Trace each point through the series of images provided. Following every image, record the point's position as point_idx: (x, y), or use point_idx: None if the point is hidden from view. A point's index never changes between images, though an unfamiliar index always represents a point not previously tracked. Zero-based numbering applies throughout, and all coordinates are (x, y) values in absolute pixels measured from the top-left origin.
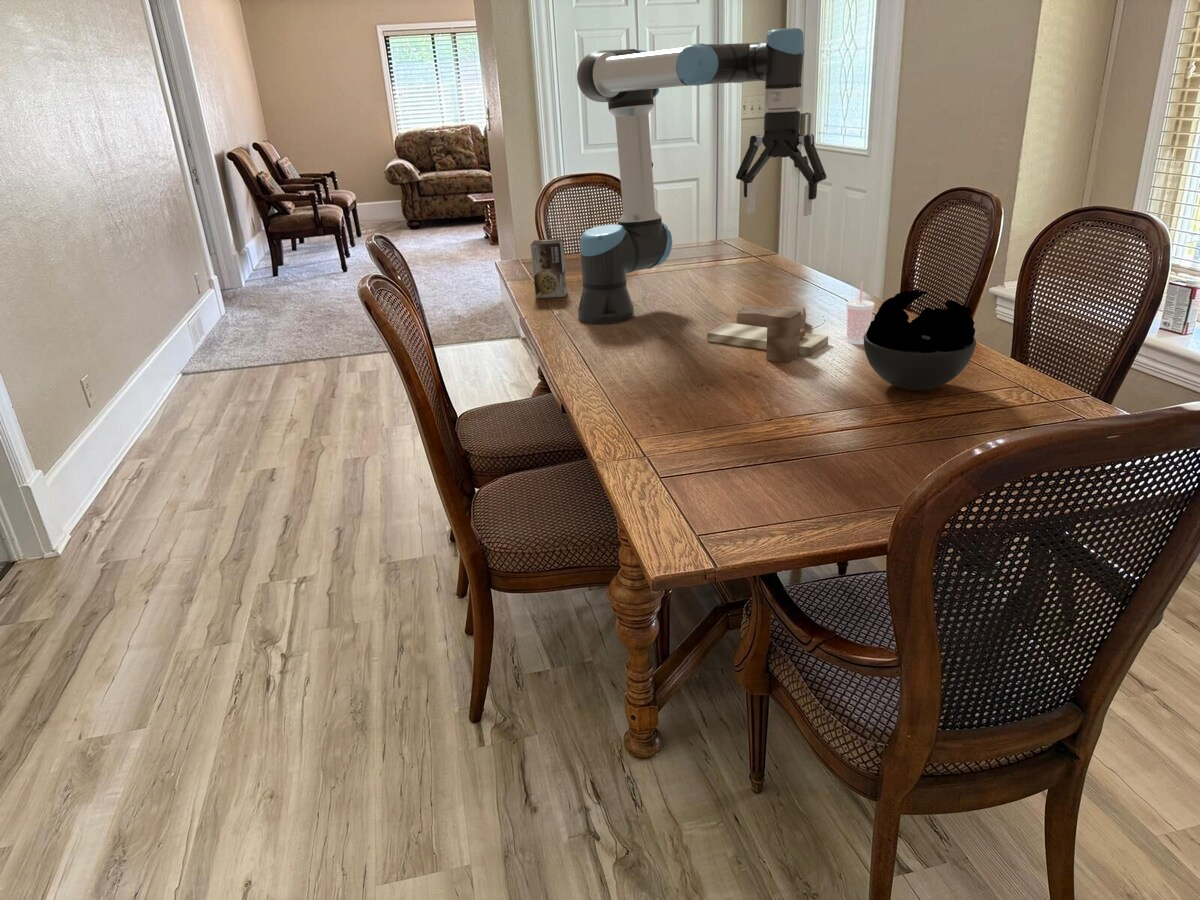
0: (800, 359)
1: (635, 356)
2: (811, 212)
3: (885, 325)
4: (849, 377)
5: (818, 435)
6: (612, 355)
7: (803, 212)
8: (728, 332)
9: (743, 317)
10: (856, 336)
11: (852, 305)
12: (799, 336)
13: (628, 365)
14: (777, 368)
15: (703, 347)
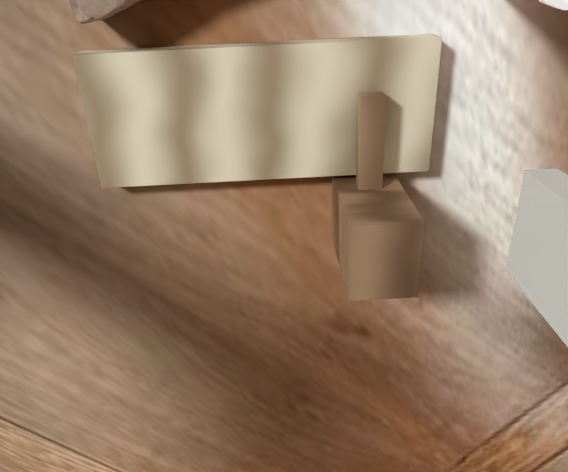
0: None
1: (56, 351)
2: (564, 176)
3: None
4: None
5: (545, 467)
6: (9, 368)
7: (518, 284)
8: (152, 155)
9: (106, 16)
10: None
11: (559, 1)
12: (404, 190)
13: (93, 395)
14: None
15: (140, 229)
